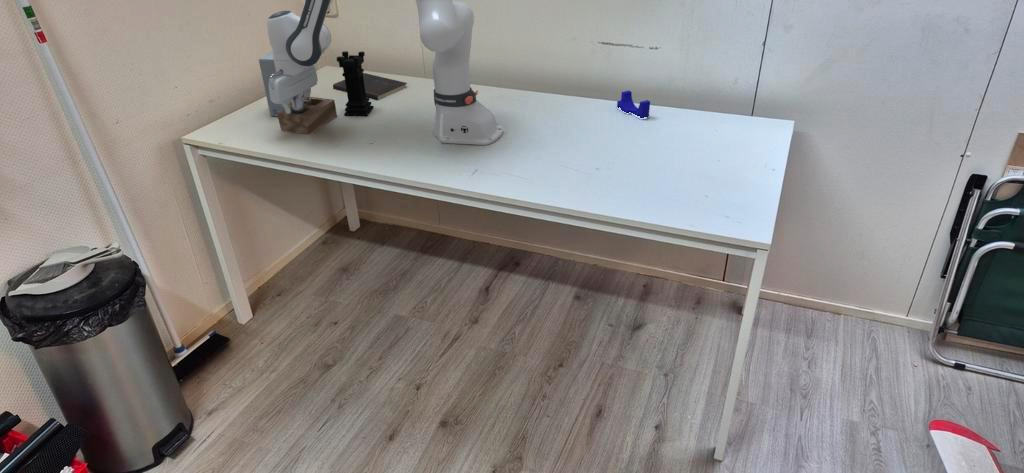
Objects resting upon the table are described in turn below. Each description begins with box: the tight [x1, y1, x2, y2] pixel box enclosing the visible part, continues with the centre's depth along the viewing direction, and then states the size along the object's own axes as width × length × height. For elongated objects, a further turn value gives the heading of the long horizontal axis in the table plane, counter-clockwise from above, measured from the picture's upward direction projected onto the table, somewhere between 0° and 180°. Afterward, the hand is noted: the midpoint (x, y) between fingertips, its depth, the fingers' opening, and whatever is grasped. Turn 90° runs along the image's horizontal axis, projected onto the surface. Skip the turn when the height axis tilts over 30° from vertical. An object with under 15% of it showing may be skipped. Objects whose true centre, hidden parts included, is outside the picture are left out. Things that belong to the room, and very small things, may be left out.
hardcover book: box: [332, 72, 408, 101], centre depth 246 cm, size 16×23×2 cm
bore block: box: [277, 96, 338, 135], centre depth 217 cm, size 11×16×6 cm
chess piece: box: [336, 50, 375, 118], centre depth 221 cm, size 8×8×20 cm
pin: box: [291, 93, 305, 114], centre depth 212 cm, size 4×4×10 cm
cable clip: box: [616, 90, 651, 118], centre depth 220 cm, size 12×4×6 cm, turn 26°
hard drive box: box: [258, 50, 304, 117], centre depth 225 cm, size 16×8×20 cm, turn 171°
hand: (298, 107), depth 212 cm, fingers open, 8 cm apart
